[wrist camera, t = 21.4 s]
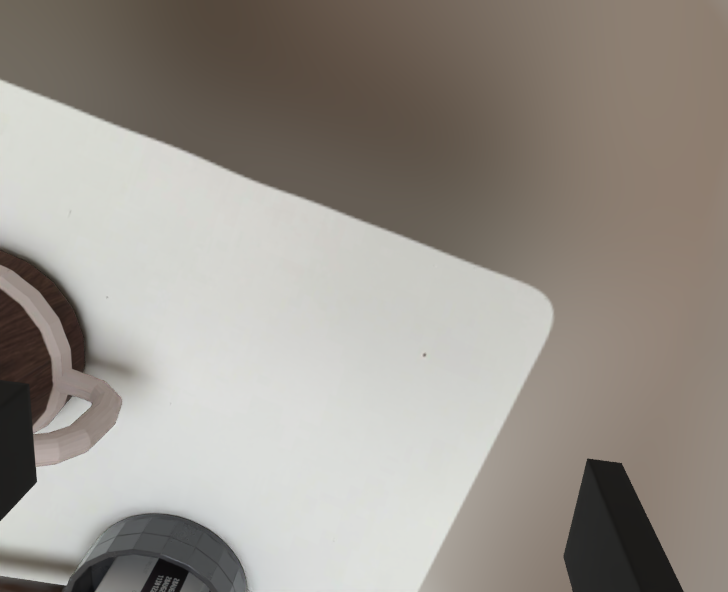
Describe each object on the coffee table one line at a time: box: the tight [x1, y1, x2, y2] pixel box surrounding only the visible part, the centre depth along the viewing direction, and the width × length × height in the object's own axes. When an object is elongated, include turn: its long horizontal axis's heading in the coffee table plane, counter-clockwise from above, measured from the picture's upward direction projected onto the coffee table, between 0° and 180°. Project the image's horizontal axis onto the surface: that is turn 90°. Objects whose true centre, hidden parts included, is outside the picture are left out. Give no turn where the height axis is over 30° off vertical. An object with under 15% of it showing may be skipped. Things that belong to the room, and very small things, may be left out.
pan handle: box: [0, 576, 67, 592], centre depth 55 cm, size 12×2×2 cm, turn 84°
